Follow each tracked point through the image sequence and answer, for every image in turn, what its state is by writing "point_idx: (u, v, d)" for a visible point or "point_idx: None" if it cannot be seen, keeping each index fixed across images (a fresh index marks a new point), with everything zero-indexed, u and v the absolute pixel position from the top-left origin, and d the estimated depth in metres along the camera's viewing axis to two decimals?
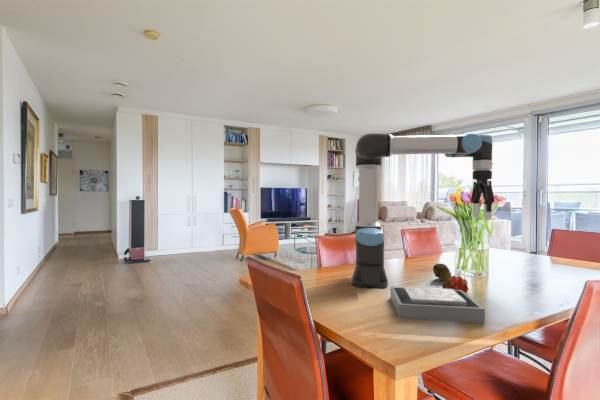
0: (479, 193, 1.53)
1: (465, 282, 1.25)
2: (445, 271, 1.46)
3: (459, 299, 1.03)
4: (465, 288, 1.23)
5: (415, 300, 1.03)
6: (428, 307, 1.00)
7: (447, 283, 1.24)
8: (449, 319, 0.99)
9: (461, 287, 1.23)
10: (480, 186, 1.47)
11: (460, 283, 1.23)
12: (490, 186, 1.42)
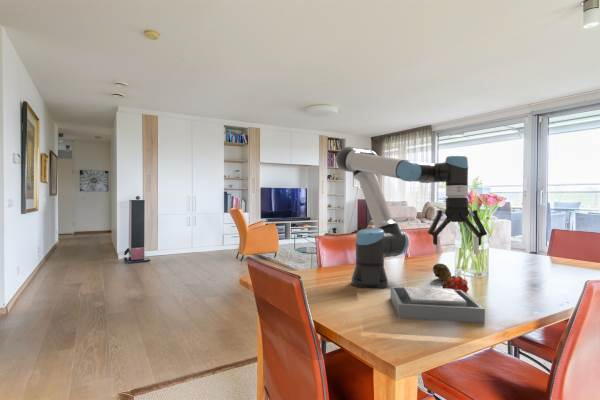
0: (467, 224, 1.26)
1: (465, 282, 1.25)
2: (445, 271, 1.46)
3: (459, 299, 1.03)
4: (465, 288, 1.23)
5: (415, 300, 1.03)
6: (428, 307, 1.00)
7: (447, 283, 1.24)
8: (449, 319, 0.99)
9: (461, 287, 1.23)
10: None
11: (460, 283, 1.23)
12: (437, 216, 1.27)
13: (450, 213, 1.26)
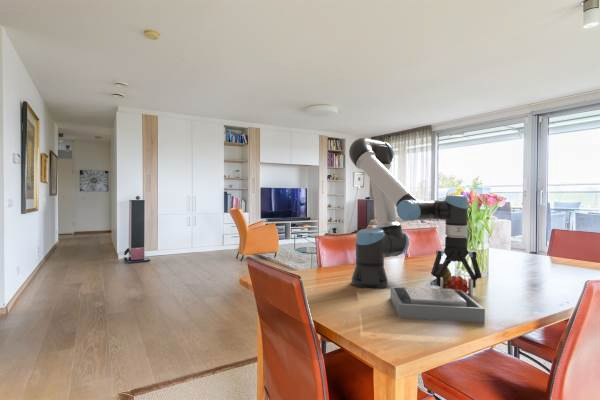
0: (464, 264, 1.26)
1: (465, 282, 1.25)
2: (445, 271, 1.46)
3: (459, 299, 1.03)
4: (465, 288, 1.23)
5: (415, 300, 1.03)
6: (428, 307, 1.00)
7: (447, 283, 1.24)
8: (449, 319, 0.99)
9: (461, 287, 1.23)
10: None
11: (460, 283, 1.23)
12: (437, 257, 1.27)
13: (449, 252, 1.26)
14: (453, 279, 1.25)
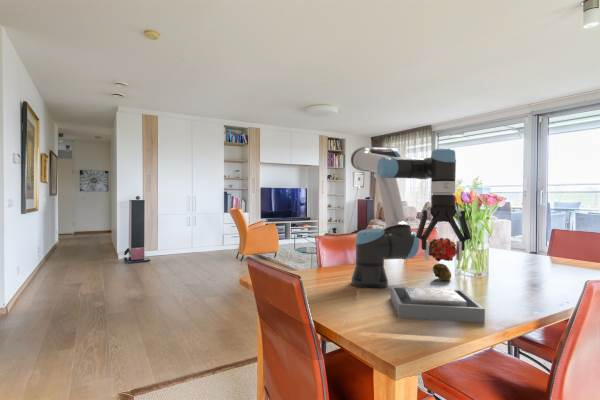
0: (452, 225, 1.14)
1: (453, 244, 1.13)
2: (445, 271, 1.46)
3: (459, 299, 1.03)
4: (453, 250, 1.11)
5: (415, 300, 1.03)
6: (428, 307, 1.00)
7: (434, 245, 1.12)
8: (449, 319, 0.99)
9: (449, 249, 1.11)
10: None
11: (448, 245, 1.11)
12: (422, 217, 1.15)
13: (436, 211, 1.14)
14: (440, 241, 1.13)
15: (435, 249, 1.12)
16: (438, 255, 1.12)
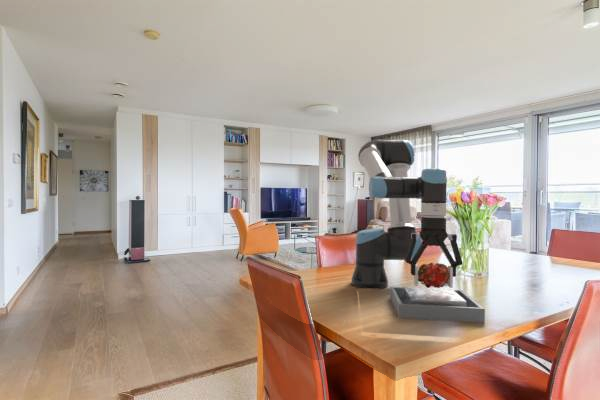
0: (442, 249, 1.08)
1: (444, 270, 1.07)
2: None
3: (459, 299, 1.03)
4: (444, 277, 1.05)
5: (415, 300, 1.03)
6: (428, 307, 1.00)
7: (423, 271, 1.06)
8: (449, 319, 0.99)
9: (439, 276, 1.05)
10: None
11: (438, 271, 1.05)
12: (411, 241, 1.09)
13: (426, 235, 1.08)
14: (430, 266, 1.07)
15: (424, 275, 1.06)
16: (427, 282, 1.06)
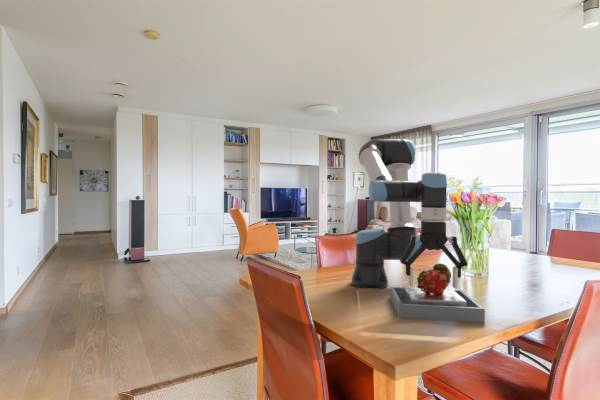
0: (445, 252, 1.08)
1: (444, 277, 1.07)
2: (445, 271, 1.46)
3: (459, 299, 1.03)
4: (443, 284, 1.05)
5: (415, 300, 1.03)
6: (428, 307, 1.00)
7: (423, 278, 1.06)
8: (449, 319, 0.99)
9: (439, 283, 1.05)
10: None
11: (438, 278, 1.05)
12: (410, 243, 1.09)
13: (425, 239, 1.08)
14: (429, 273, 1.07)
15: (424, 282, 1.06)
16: (427, 289, 1.06)
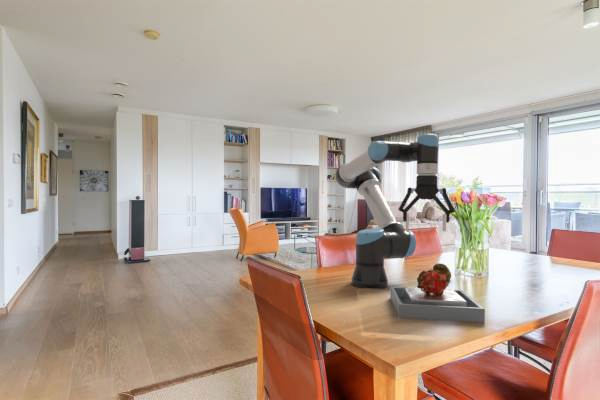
0: (436, 201, 1.29)
1: (444, 277, 1.07)
2: (445, 271, 1.46)
3: (459, 299, 1.03)
4: (443, 284, 1.05)
5: (415, 300, 1.03)
6: (428, 307, 1.00)
7: (423, 278, 1.06)
8: (449, 319, 0.99)
9: (439, 283, 1.05)
10: None
11: (438, 278, 1.05)
12: (407, 194, 1.30)
13: (419, 190, 1.29)
14: (429, 273, 1.07)
15: (424, 282, 1.06)
16: (427, 289, 1.06)
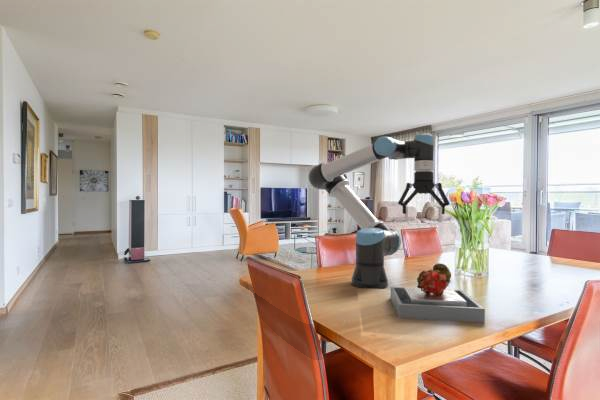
0: (432, 195, 1.41)
1: (444, 277, 1.07)
2: (445, 271, 1.46)
3: (459, 299, 1.03)
4: (443, 284, 1.05)
5: (415, 300, 1.03)
6: (428, 307, 1.00)
7: (423, 278, 1.06)
8: (449, 319, 0.99)
9: (439, 283, 1.05)
10: None
11: (438, 278, 1.05)
12: (406, 188, 1.42)
13: (417, 185, 1.41)
14: (429, 273, 1.07)
15: (424, 282, 1.06)
16: (427, 289, 1.06)
